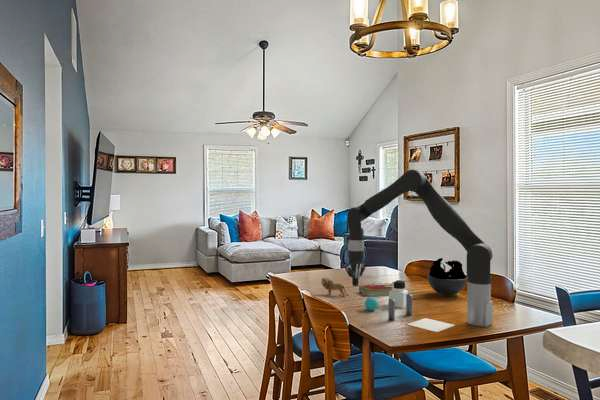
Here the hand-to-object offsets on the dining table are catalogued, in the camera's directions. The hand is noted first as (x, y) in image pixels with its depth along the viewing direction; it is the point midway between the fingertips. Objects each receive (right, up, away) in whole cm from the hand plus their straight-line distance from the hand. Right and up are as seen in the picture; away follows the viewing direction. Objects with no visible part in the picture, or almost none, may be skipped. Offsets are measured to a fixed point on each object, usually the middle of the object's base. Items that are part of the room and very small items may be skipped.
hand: (355, 285), depth 222 cm
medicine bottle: (+21, -10, +3) cm, 24 cm away
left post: (+13, -11, -23) cm, 28 cm away
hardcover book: (+18, -10, +29) cm, 36 cm away
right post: (+22, -10, -14) cm, 28 cm away
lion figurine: (-9, -10, +23) cm, 27 cm away
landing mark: (+28, -11, -29) cm, 42 cm away
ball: (+7, -7, -7) cm, 12 cm away
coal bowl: (+51, -10, +26) cm, 58 cm away
